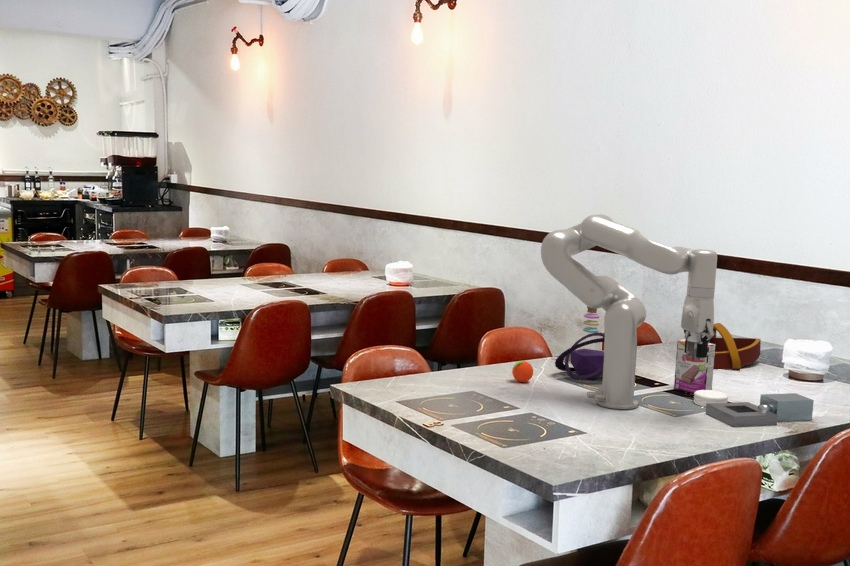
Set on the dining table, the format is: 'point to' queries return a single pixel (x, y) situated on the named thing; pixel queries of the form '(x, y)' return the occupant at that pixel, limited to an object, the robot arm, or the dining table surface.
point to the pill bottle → (693, 350)
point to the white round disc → (709, 397)
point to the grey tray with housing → (763, 410)
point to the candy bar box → (693, 370)
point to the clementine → (522, 371)
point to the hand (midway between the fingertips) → (695, 354)
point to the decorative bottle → (584, 353)
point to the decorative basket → (733, 349)
